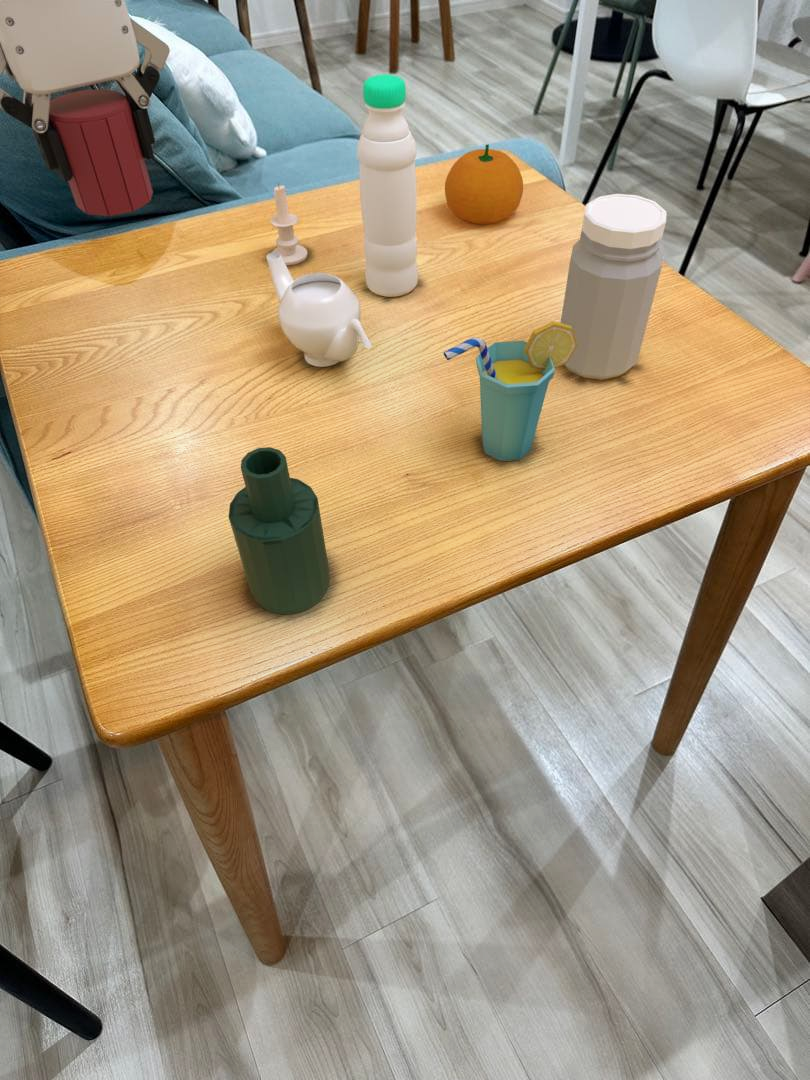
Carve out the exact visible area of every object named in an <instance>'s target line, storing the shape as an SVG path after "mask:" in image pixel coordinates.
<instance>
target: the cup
mask: <svg viewBox="0 0 810 1080" xmlns="http://www.w3.org/2000/svg"><path fill="white" fill-rule="evenodd" d="M577 345H578V344H577V341H576V338H575V335H574V332H573V329H572V327H571V326H569V325H566V324H562V323H561V322H558V321H554V320H552V321H550V322H548V323H546V324H544V325H542V326H540V327H538V328H536V329H533V330H532V332H531V334H530V336H529V338H528V339H527V341H525V340H511V341H510V340H509V341H498V342H497V341H496V342H493V343H492V344H491V345H489V346H487V343H486V341H485V340H484V339H482V338H479V337H475V336H472V337H470V338H468V339H466V340H465V341H462V342H461V343H459V344H457V345H455V346H452V347H451V348H449V349H447V350H445V351H443V357H444V358H445V359H446V360H447V361H450V360H452V359H454V358H456V357H458V356H460V355H462V354H464V353H466V352H468V351H470V350H472V349H474V348H478V351H479V354H477V356H476V357H475V360H476V362H475V363H476V369H477V372H478V377H479V393H480V395H479V396H480V397H479V399H480V422H481V425H480V426H481V441H482V442H481V443H482V446H483V451H484V454H486V455H488V456H490V457H491V458H494V459H495V460H497V461H499V462H510V461H512V462H513V461H521V460H522V459H523V458H524V457H525V456H526V455H527V454H528V453H529V452H530V451H531V450H532V448H533V443H534V439H535V436H536V431H537V428H538V424H539V421H540V418H541V417H540V416H541V413H542V409H543V405H544V402H545V398H546V395H547V390H548V386H549V383H550V381H551V380H552V379H554V376H555V372H556V369H557V368H560V367H562V366H563V365H564V364H565V363H568V361H569V359H570V358H571V356H572V354H573V352H574V351H575V349H576V347H577Z"/></svg>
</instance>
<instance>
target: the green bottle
mask: <svg viewBox="0 0 810 1080" xmlns="http://www.w3.org/2000/svg"><path fill="white" fill-rule="evenodd" d="M240 470H241V471H240V472H241V475H242V479H243V482H244V487H243V488H241V490H239V491H237V493H236V494H235V495H234V498H233V499H232V501H231V502H230V503H229V510H228V520H229V523H230V527H231V531H232V534H233V537H234V541H235V544H236V547H237V550H238V554H239V557H240V561H241V564H242V568H243V570H244V571H243V572H244V574H245V578H246V581H247V583H248V589H249V590H250V592H251V595H252V597H253V599H254V601H255V602H256V603H257V605H258V606H260V607H261V608H263V609H264V610H266V611H268V612H270V613H273V614H279V615H294V614H298V613H302V612H305V611H307V610H309V609H311V608H313V607H314V606H316V605H317V604H318V603H320V601H321V600H323V598H324V597H325V595H326V594H327V592H328V589H329V587H330V579H331V578H330V568H329V567H330V566H329V561H328V554H327V549H326V548H327V547H326V542H325V535H324V529H323V523H322V517H321V511H320V505H319V498H318V496H317V494H316V493H315V491H314V490H313V488H312V486H311V485H309V484H307V483H306V482H304V481H302V480H301V479H299V478H295V477H294V478H293V477H290V476H291V475H290V472H289V467H288V462H287V457H286V455H285V454H284V453H283V452H282V451H281V450H280V449H277V448H274V447H272V446H270V447H269V446H267V447H266V446H265V447H258V448H255V449H253V450H251V451H249V452H246V454H245V455H244V456H243V458H242V459H241V462H240Z"/></svg>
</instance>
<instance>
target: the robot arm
mask: <svg viewBox="0 0 810 1080" xmlns="http://www.w3.org/2000/svg"><path fill="white" fill-rule="evenodd" d="M138 45H140V46H141V47H143V49H144V51H145V52H144V53H145V55H144V57H143V61H142V63H140V52H139V47H138ZM170 50H171V49H170V47H169V45H168V44H167V43H166V42H164V41H163V40H162V39H161V38H159V37H157V36H156V35H154V34H153V33H152V32H150V31H149V30H148V29H147V28H145V27H143V26H142V25H140V23H138V22H136V21H135V20H134V19H133V18H131V17H130V14H129V10H128V7H127V5H126V2H125V0H0V78H1V76H2V75H3V73H4V72H5V74H6V76H7V77H8V78H9V79H10V80H13V81H15V82H17V84H18V85H19V87H20V88H21V89H22V90H23V97H22V100H21V101H20V100H19V99H17V98H16V97H14V96H13V95H11V94H10V93H7V92H6V90H5V91H4V90H3V89H2V88H1V87H0V110H2V111H4V112H5V113H6V114H8V115H9V116H11V117H12V118H14V119H15V120H18V121H19V122H21V123H22V124H24V125H26V126H28V127H29V128H30V129H31V130H32V132H33V135H34V138H35V141H36V143H37V146H38V149H39V152H40V155H41V158H42V160H43V162H44V164H45V166H46V168H47V169H48V171H53V170H54V172H55V173H56V174H57V176H59V178H60V179H62V181H64V182H65V183H66V182H68V181H70V180H71V178H73V177H72V174H71V171H70V168H69V165H68V162H67V159H66V156H65V153H64V150H63V147H62V144H61V141H60V138H59V136H58V133H57V131H56V130H55V129H54V128H52V127H51V125H50V122H49V110H50V101H51V100H52V94H53V93H54V94H55V93H59V92H63V91H69V90H73V89H78V88H83V87H87V86H91V85H96V84H100V83H105V82H109V81H113V82H115V83H116V85H117V87H118V88H119V89H120V90H121V93H122V94H123V95H125V97H126V99H127V101H128V102H129V104H130V108H131V112H132V115H133V119H134V123H135V127H136V130H137V134H138V138H139V142H140V145H141V149H142V153H143V157H144V160H152V159H154V158H155V155H154V150H153V147H152V145H154V144H156V139H155V134H154V131H153V126H152V123H151V119H150V115H149V110H148V108H149V107H150V105H151V97H152V95H153V93H154V91H155V90H156V87H157V85H158V84H159V82H160V78H161V75H160V74H161V72H162V71H163V69H164V67H165V64H166V62H167V60H168V58H169V55H170ZM133 73H135V75H134V74H133Z"/></svg>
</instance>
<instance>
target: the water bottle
mask: <svg viewBox="0 0 810 1080" xmlns="http://www.w3.org/2000/svg"><path fill="white" fill-rule="evenodd" d="M406 89H407V88H406V83H405V81H404V79H403V78H401V77H400V76H397V75H394V74H386V73H384V74H376V75H372V76H370V77H368V78H367V79H366V80H365V81H364V83H363V86H362V97H363V102H364V107H365V108H366V109H367V111H368V115H367V118H366V120H365V121H364V124H363V127H362V131H361V134H360V137H359V139H358V142H357V148H356V154H357V159H358V161H359V198H360V211H361V222H362V229H363V233H364V235H363V254H364V258H365V267H364V268H365V269H364V271H365V272H364V275H365V276H364V277H365V283H366V284H365V285H366V287H367V288H368V289H369V290H370V291H371V292H372V293H373V294H375V295H378V296H381V297H387V298H397V297H401V296H404V295H407V294H409V293H411V292H412V291H413V290H414V289H415V288H416V287H417V285H418V282H419V281H418V280H419V272H418V261H417V257H418V238H417V233H416V232H417V231H416V230H417V218H418V217H417V216H418V215H417V214H418V189H417V185H418V183H417V171H416V161H415V160H416V157H417V143H416V141H415V138H414V136H413V133H412V131H411V130H410V128H409V127H410V126H409V124H408V121H407V120H406V118H405V117H404V115H403V108H404V107H405V105H406V97H407V95H406V94H407V91H406Z"/></svg>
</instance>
